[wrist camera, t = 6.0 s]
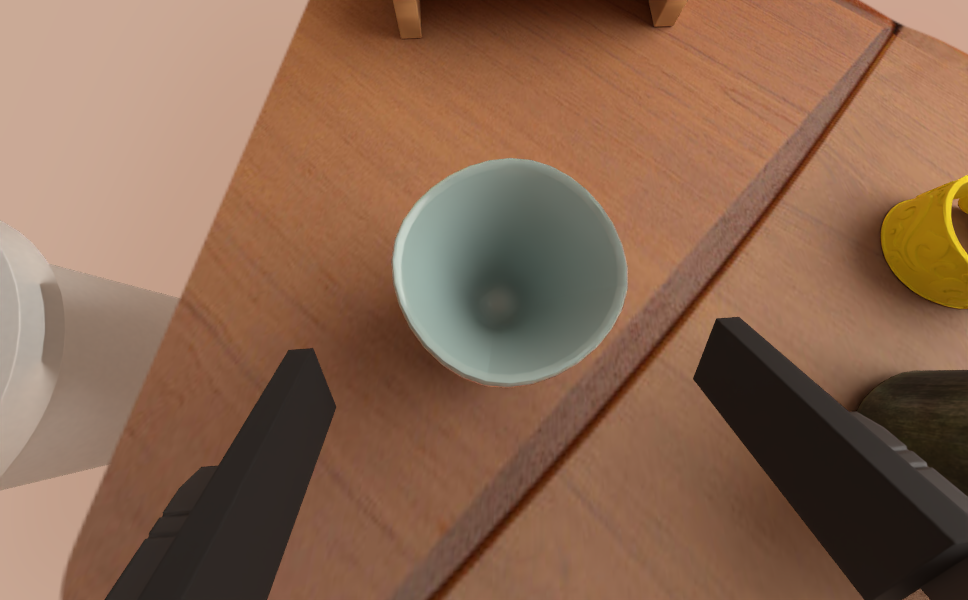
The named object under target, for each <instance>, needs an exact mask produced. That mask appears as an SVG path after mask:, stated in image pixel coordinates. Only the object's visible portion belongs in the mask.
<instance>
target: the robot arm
mask: <svg viewBox="0 0 968 600" xmlns="http://www.w3.org/2000/svg"><path fill="white" fill-rule="evenodd" d="M693 379H694V381H695V382H696V383H697V385H698V386H699V387H700V388H701V390H702V391H703V392H704V394H705V395H706V396H707V397H708V399H709V400H710V401H711V403H712V404H713V405H714V406H715V408H716V409H717V410H718V412H719V413H720V414H721V415H722V417H723V418H724V419H725V421H726V422H727V423H728V425H729V426H730V427H731V428H732V430H733V431H734V432H735V434H736V435H737V436H738V437H739V439H740V440H741V441H742V443H743V444H744V445H745V446H746V448H747V449H748V450H749V452H750V453H751V454H752V455H753V457H754V458H755V459H756V461H757V462H758V463H759V464H760V466H761V467H762V468H763V470H764V471H765V472H766V474H767V475H768V476H769V477H770V479H771V480H772V481H773V483H774V484H775V485H776V486H777V488H778V489H779V490H780V492H781V493H782V494H783V495H784V497H785V498H786V499H787V501H788V502H789V503H790V504H791V506H792V507H793V508H794V510H795V511H796V512H797V514H798V515H799V516H800V517H801V519H802V520H803V521H804V523H805V524H806V525H807V526H808V528H809V529H810V530H811V532H812V533H813V534H814V535H815V537H816V538H817V539H818V541H819V542H820V543H821V544H822V546H823V547H824V548H825V550H826V551H827V552H828V553H829V555H830V556H831V557H832V559H833V560H834V561H835V563H836V564H837V565H838V566H839V568H840V569H841V570H842V572H843V573H844V574H845V575H846V577H847V578H848V579H849V581H850V582H851V583H852V584H853V586H854V587H855V588H856V590H857V591H858V592H859V593H860V595H861V596H862V597H863V599H864V600H902V599H904V598H906V597H907V596H909V595H910V594H912V593H913V592H915V591H917V590H918V589H921V590H922V591H923V592H924V593H925V594H926V595H927V596H928V597H929V599H930V600H968V497H967V496H966V495H965V494H964V493H963V492H961V491H960V490H959V489H958V488H957V487H955V486H954V485H953V484H952V483H951V482H949V481H948V480H947V479H946V478H945V477H943V476H942V475H941V474H940V473H938V472H937V471H936V470H935V469H934V468H932V467H931V468H930V467H928V466H927V463H926V462H925V461H924V460H923V459H922V458H920V457H919V456H918V455H917V454H916V453H914V452H913V451H909V450H908V449H907V446H906V445H905V444H903V443H902V442H901V441H900V440H899V439H897V438H896V437H895V436H894V435H893V434H891V433H890V432H889V431H888V430H887V429H885V428H884V427H882V426H881V425H879V424H877V423H876V422H874V421H872V420H870V419H869V418H867V417H865V416H863V415H862V414H860V413H858V412H857V411H854V412H849V411H848V410H846V409H845V408H844V407H843V406H842V405H841V404H839V403H838V402H837V401H836V400H835V399H834V398H832V397H831V396H830V395H829V394H828V393H827V392H826V391H824V390H823V389H822V388H821V387H820V386H819V385H817V384H816V383H815V382H814V381H813V380H812V379H810V378H809V377H808V376H807V375H806V374H805V373H803V372H802V371H801V370H800V369H799V368H798V367H796V366H795V365H794V364H793V363H792V362H791V361H790V360H788V359H787V358H786V357H785V356H784V355H783V354H781V353H780V352H779V351H778V350H777V349H776V348H774V347H773V346H772V345H771V344H770V343H769V342H767V341H766V340H765V339H764V338H763V337H762V336H760V335H759V334H758V333H757V332H756V331H755V330H754V329H752V328H751V327H750V326H749V325H748V324H747V323H745V322H744V321H743V320H742V319H741V318H740V317H732V318H718V319H716V321H715V323H714V326H713V329H712V331H711V334H710V336H709V339H708V341H707V344H706V347H705V349H704V352H703V354H702V357H701V360H700V362H699V365H698V367H697V370H696V372H695V375H694V378H693ZM335 409H336V405H335V402H334V400H333V397H332V395H331V392H330V390H329V387H328V385H327V382H326V380H325V377H324V374H323V372H322V369H321V367H320V364H319V362H318V359H317V357H316V354H315V352H314V349H313V348H310V349H296V350H288V352H287V354H286V355H285V357H284V359H283V360H282V362H281V363H280V365H279V367H278V368H277V370H276V372H275V373H274V375H273V377H272V378H271V380H270V382H269V383H268V385H267V387H266V388H265V390H264V392H263V393H262V395H261V396H260V398H259V400H258V401H257V403H256V405H255V406H254V408H253V410H252V411H251V413H250V415H249V416H248V418H247V420H246V421H245V423H244V424H243V426H242V428H241V429H240V431H239V433H238V434H237V436H236V438H235V439H234V441H233V443H232V444H231V446H230V448H229V449H228V451H227V453H226V454H225V456H224V457H223V459H222V461H221V462H220V464H219V466H208V467H201V468H200V469H199V470H198V471H197V472H196V473H195V474H194V475H193V476H191V477H190V478H189V479H188V480H187V481H186V482H185V483H184V484H183V485H182V486H181V487H180V488H179V489H178V491H177V492H176V494H175V495H174V497H173V498H172V500H171V501H170V503H169V504H168V506H167V507H166V509H165V510H164V512H163V516H162V517H161V518H159V519H158V521H157V522H156V524H155V525H154V527H153V528H152V530H151V531H150V533H149V537H148V538H147V539H145V540H144V542H143V543H142V545H141V546H140V547H139V549H138V550H137V552H136V553H135V555H134V556H133V558H132V559H131V561H130V562H129V564H128V565H127V567H126V568H125V570H124V571H123V573H122V574H121V576H120V577H119V579H118V580H117V582H116V583H115V585H114V586H113V588H112V589H111V591H110V592H109V594H108V595H107V597H106V598H105V600H267V598H268V595H269V593H270V590H271V587H272V584H273V581H274V579H275V576H276V573H277V570H278V568H279V565H280V562H281V559H282V556H283V554H284V551H285V548H286V545H287V543H288V540H289V537H290V534H291V531H292V529H293V526H294V523H295V520H296V518H297V515H298V512H299V509H300V506H301V504H302V501H303V498H304V495H305V493H306V490H307V487H308V484H309V482H310V479H311V476H312V473H313V470H314V468H315V465H316V462H317V459H318V457H319V454H320V451H321V448H322V445H323V443H324V440H325V437H326V434H327V432H328V429H329V426H330V423H331V420H332V418H333V415H334V412H335Z"/></svg>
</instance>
